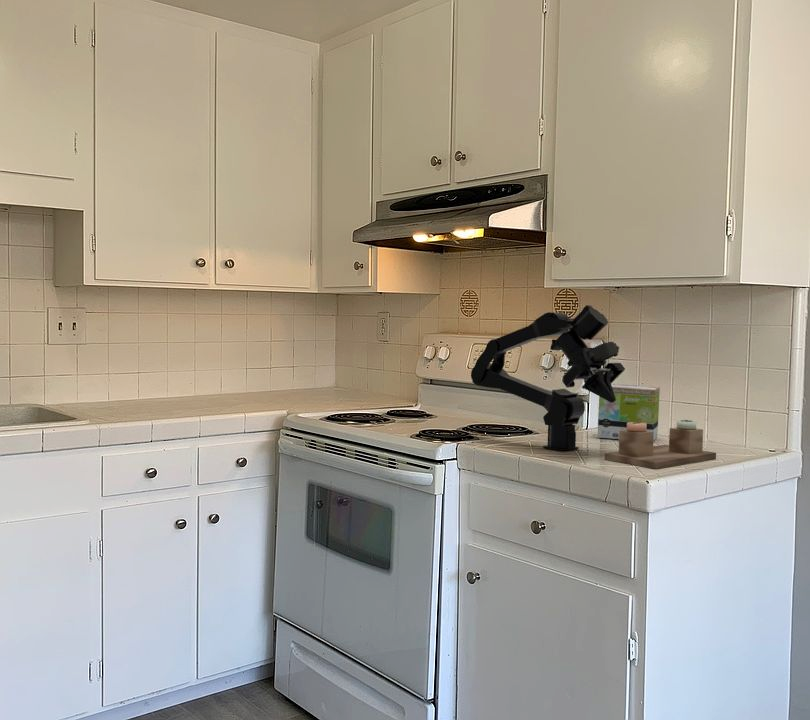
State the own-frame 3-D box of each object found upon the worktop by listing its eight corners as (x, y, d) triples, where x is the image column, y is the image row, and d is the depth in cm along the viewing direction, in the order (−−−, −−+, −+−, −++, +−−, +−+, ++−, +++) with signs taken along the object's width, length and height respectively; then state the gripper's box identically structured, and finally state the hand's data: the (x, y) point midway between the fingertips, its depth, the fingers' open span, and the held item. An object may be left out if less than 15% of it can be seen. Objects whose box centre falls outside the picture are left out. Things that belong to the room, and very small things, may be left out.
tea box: (596, 438, 220) (598, 385, 219) (603, 434, 229) (605, 383, 228) (653, 443, 213) (655, 388, 213) (658, 438, 222) (660, 385, 222)
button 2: (672, 427, 191) (673, 420, 191) (683, 426, 194) (683, 418, 194) (689, 429, 188) (689, 422, 188) (699, 428, 190) (700, 421, 190)
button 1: (622, 429, 186) (623, 422, 186) (634, 428, 188) (634, 420, 188) (638, 432, 182) (639, 424, 182) (650, 430, 185) (650, 422, 185)
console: (604, 459, 187) (605, 429, 186) (664, 450, 201) (665, 423, 201) (655, 469, 176) (657, 437, 175) (715, 458, 190) (717, 429, 190)
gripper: (574, 330, 186) (613, 381, 179) (619, 330, 199) (657, 378, 191) (546, 361, 193) (582, 412, 185) (591, 359, 205) (627, 407, 198)
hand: (613, 401), depth 190 cm, fingers closed
